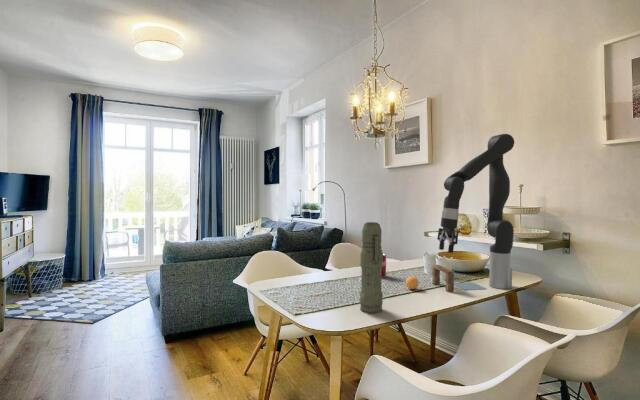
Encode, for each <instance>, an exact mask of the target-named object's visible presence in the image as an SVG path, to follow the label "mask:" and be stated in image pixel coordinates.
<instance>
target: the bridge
mask: <svg viewBox="0 0 640 400" xmlns="http://www.w3.org/2000/svg"><path fill="white" fill-rule="evenodd" d="M441 272H442V273H444V274H445V292H447V293H453V292H455V285H454V283H455V271H454V270H451V269H450V268H447V267H445V266H442V265H440V264H432V278H431V279H432V283H431V284H432V285H434V286H435V285H439V284H440V285H441V283H440V282H441Z"/></svg>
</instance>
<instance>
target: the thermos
mask: <svg viewBox="0 0 640 400" xmlns="http://www.w3.org/2000/svg"><path fill="white" fill-rule="evenodd" d="M361 242H362V245H361V250H360V261H359V262H360V263H359V264H360V265H359V266H360V268H361V281H360V283H361V287H360V288H361V290H360V292H359V304H360V311H361V313H365V314H373V315H374V314H380V313H381V312H383V302H384V300H383V291H382V278H381V269H382V267H383V254H384V252H383V250H382V228H381V225H380V223H379V222H375V221H374V222H373V221H369V222H368V221H367V222H365V223H363V226H362V230H361Z"/></svg>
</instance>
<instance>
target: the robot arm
mask: <svg viewBox="0 0 640 400" xmlns="http://www.w3.org/2000/svg"><path fill="white" fill-rule="evenodd" d="M514 146H515V138H514V137H513V136H512V135H511V134H508V133H500V134H497V135H493V136H491V137H490V138H489V139H488V141H487V149H486V150H485V151H483V152H482V153H481V154H478V156H475V157H474V158H473V159H471V160H469V161H468V162H467V163H466V164H465V165H463V167H461V168H459V170H457V171H456V172H454V173H453V174H450V175H449V176H448V177H447V178H446V179H445V180H444V182H443V188H444V189H445V190H446V191H448V194H447V196H445V197H444V200H443V208H442V212H441V220H440V226H441V227H440V228H439V227H438V231H437V232H438V233H437V240H438V242H439V246H438V249H439V250H440V251H441V250H442V251H444V249H445V243H446V240H447V241H448V249H447V250H448V251H447V252H448V253H451V254H453V253H454V249H455V248H454V247H455V245H458V239H459V231H457V230H455V229H457V228H458V223H459V209H460V208H459V207H460V200H461V199H462V196H463V194H464V193H463V192H464V190H465V182H467V181H470V180H472V179H474V177H475V176H477V175H478V174H479V173H480V172H482V170H484V169H486V167H487V166H488V170H489V171H488V172H489V173H488V174H489V175H488V176H489V179H488V189H489V190H488V193H489V194H488V197H489V201H488V216H487V223H486V224H487V225H486V226H487V227H486V229H487V232H488V235H489V236H490V237H492V238H495V241H494V244H492V245H490V246H489V277H488V279H489V280H488V281H489V282H488V286H489V287H491V288H495V289H500V290H501V289H503V290H505V289H510V288H511V287H513V268H512V267H511V260H512V259H511V256H512V255H511V253H512V252H511V251H512V248H513V247H514V246H513V245H514V234H515V233H514V230H515V229H514V226H513V224H512V222H510V221H508V220H505V219H504V218H503V217H504V216H503V215H504V212H503V211H504V208H505V205H506V203H507V201H508V199H509V196H510V192H511V182H510V181H511V180H510V177H509V174H508V172H507V170H506V168H505V165H504V155H505V154H507V153H508V152H510V151H511V150H513V148H514ZM503 219H504V220H503ZM511 289H512V288H511Z"/></svg>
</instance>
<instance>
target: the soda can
mask: <svg viewBox="0 0 640 400" xmlns="http://www.w3.org/2000/svg"><path fill="white" fill-rule="evenodd" d="M386 276H387V255H386V254H385V253H383V267H382V269H381V279H382V278H386Z"/></svg>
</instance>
